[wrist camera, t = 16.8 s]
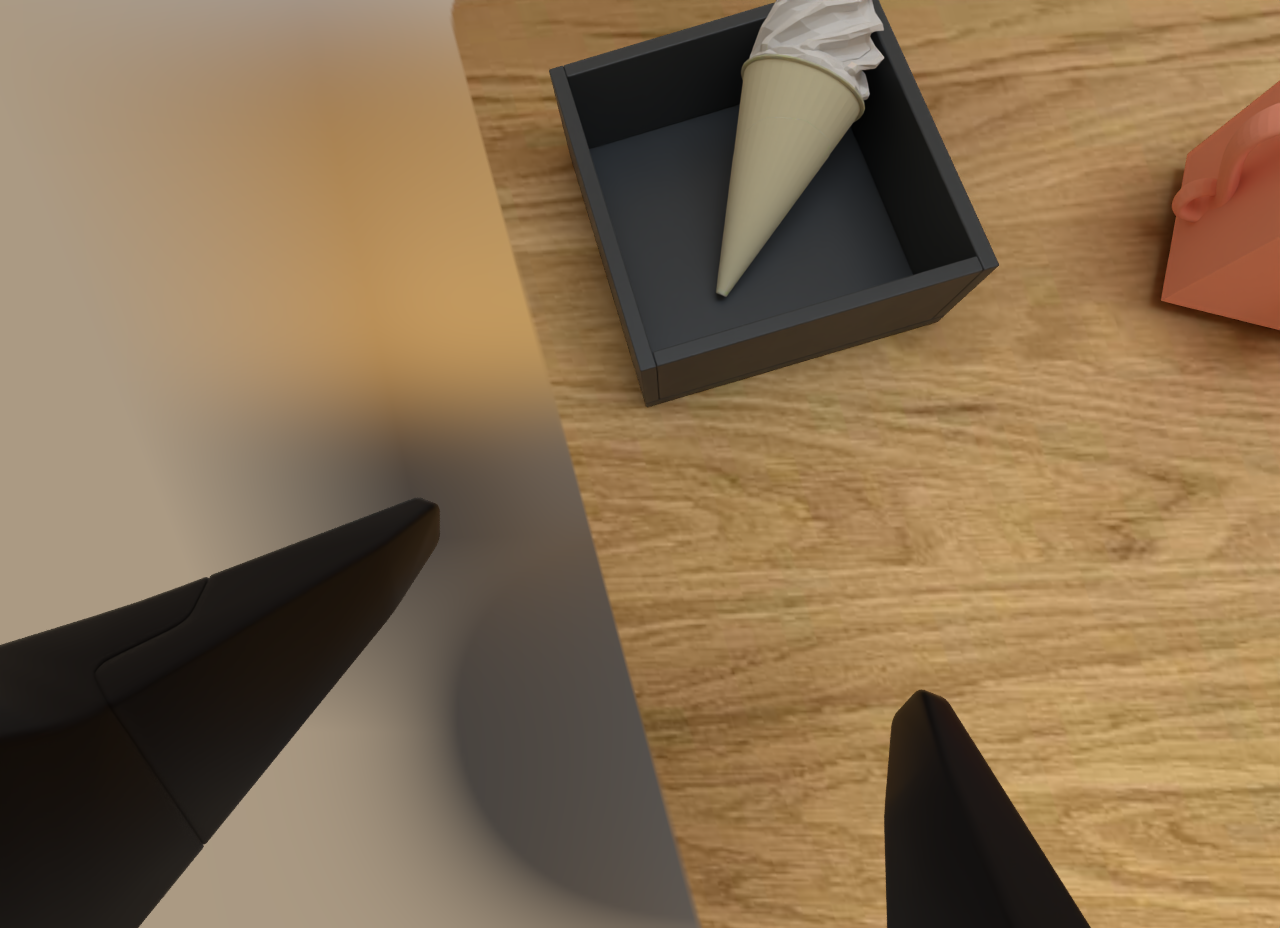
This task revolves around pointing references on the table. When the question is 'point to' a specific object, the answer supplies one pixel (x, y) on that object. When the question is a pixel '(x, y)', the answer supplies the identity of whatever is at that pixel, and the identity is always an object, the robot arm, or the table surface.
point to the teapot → (1231, 220)
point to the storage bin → (801, 244)
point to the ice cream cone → (792, 115)
